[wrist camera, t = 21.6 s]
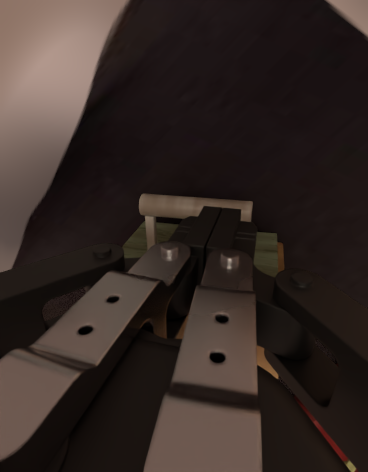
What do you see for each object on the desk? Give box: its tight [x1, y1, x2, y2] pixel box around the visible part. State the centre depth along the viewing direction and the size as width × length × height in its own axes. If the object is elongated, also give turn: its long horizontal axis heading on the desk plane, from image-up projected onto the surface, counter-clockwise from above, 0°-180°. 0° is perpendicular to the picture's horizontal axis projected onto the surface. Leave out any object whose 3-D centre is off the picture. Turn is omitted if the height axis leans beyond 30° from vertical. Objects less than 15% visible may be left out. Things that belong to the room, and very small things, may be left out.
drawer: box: [122, 194, 278, 277], centre depth 25 cm, size 18×11×8 cm, turn 1°
